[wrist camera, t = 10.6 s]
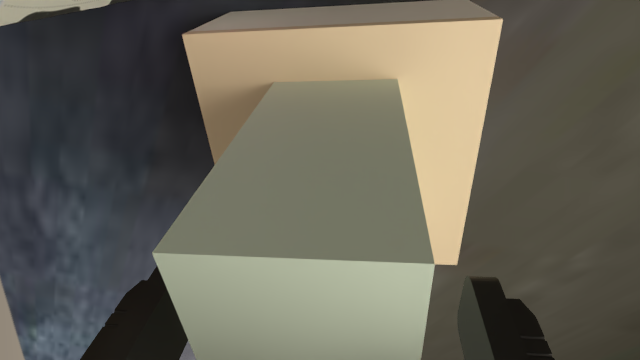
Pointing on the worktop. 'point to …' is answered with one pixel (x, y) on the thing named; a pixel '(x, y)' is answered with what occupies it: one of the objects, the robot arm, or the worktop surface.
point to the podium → (365, 64)
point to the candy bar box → (44, 8)
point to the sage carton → (306, 233)
